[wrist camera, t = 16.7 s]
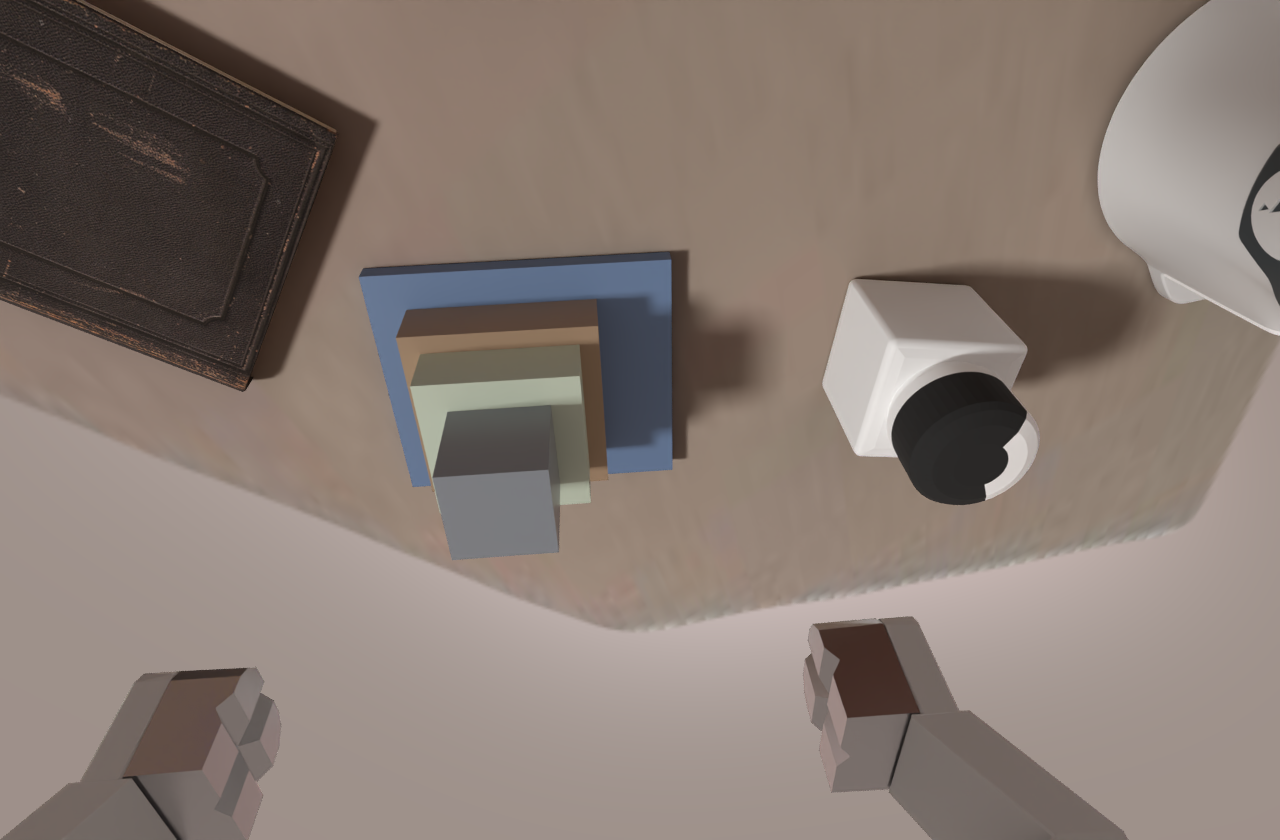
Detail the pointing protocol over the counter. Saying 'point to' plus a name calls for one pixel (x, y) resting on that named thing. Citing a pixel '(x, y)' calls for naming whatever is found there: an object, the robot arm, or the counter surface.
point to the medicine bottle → (932, 387)
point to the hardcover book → (146, 189)
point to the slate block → (499, 482)
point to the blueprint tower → (532, 355)
